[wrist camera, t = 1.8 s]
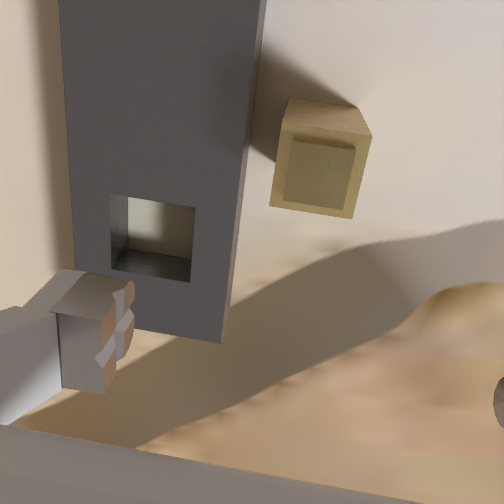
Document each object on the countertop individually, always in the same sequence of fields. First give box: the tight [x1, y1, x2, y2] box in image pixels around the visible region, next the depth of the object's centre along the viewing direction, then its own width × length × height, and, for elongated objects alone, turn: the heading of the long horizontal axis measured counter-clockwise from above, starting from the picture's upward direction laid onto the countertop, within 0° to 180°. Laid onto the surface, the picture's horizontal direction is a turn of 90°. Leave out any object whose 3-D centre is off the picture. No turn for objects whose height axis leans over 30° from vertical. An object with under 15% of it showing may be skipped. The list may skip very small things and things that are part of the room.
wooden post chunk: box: [269, 98, 372, 219], centre depth 24 cm, size 4×4×8 cm
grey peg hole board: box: [59, 0, 267, 343], centre depth 26 cm, size 10×30×3 cm, turn 173°
